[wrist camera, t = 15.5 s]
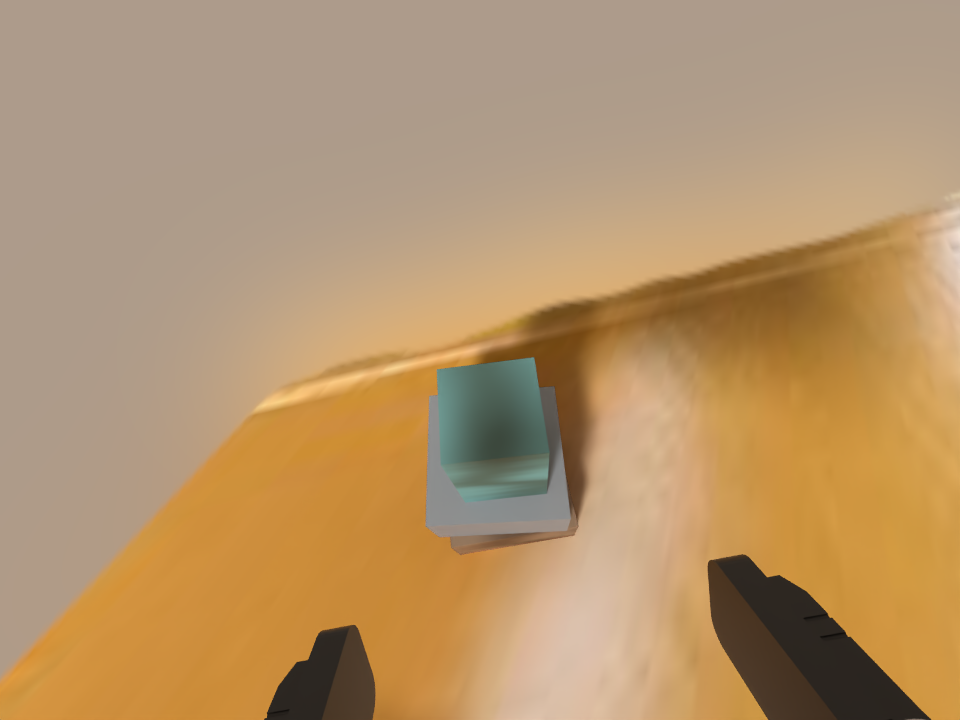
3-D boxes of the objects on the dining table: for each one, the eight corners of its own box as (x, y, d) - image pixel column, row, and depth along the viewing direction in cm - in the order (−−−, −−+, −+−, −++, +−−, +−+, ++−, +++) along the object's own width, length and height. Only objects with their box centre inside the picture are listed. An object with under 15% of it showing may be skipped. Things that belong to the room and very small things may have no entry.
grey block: (552, 411, 32) (554, 386, 29) (567, 530, 28) (570, 518, 25) (440, 419, 33) (429, 396, 29) (439, 537, 29) (425, 526, 25)
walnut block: (548, 429, 36) (549, 409, 32) (573, 536, 32) (578, 526, 28) (448, 447, 36) (439, 428, 32) (460, 555, 32) (451, 547, 28)
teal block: (534, 417, 28) (534, 357, 21) (546, 493, 25) (549, 452, 19) (460, 426, 28) (436, 369, 21) (465, 502, 26) (440, 464, 19)
